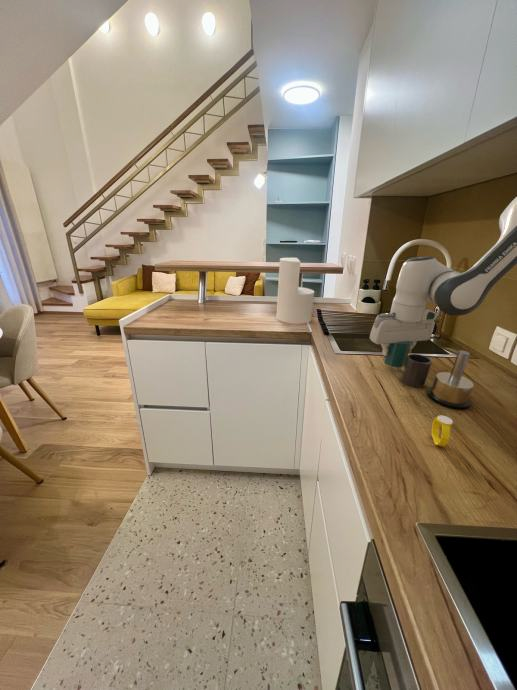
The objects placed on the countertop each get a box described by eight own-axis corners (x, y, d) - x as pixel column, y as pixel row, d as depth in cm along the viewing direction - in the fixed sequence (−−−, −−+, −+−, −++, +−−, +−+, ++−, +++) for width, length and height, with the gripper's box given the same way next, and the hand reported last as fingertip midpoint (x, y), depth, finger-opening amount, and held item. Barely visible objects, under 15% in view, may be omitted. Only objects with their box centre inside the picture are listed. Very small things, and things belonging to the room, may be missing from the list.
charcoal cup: (420, 378, 86) (427, 355, 82) (427, 389, 80) (435, 364, 77) (399, 376, 87) (405, 352, 84) (404, 386, 81) (410, 361, 78)
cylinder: (276, 322, 131) (280, 261, 120) (276, 312, 147) (279, 257, 136) (313, 324, 131) (320, 262, 120) (308, 313, 146) (314, 258, 135)
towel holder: (460, 391, 79) (476, 346, 74) (477, 412, 70) (497, 363, 65) (422, 386, 81) (435, 342, 76) (434, 406, 72) (450, 358, 67)
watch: (426, 430, 63) (433, 409, 61) (440, 433, 63) (447, 411, 60) (433, 449, 58) (441, 426, 56) (448, 452, 57) (457, 429, 55)
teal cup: (401, 359, 93) (407, 337, 90) (406, 368, 87) (413, 344, 84) (381, 357, 94) (387, 335, 91) (385, 365, 88) (391, 342, 85)
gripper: (383, 317, 78) (374, 361, 84) (442, 313, 83) (429, 355, 89) (370, 310, 84) (362, 352, 89) (425, 308, 89) (414, 347, 94)
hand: (396, 354), depth 89 cm, fingers closed on teal cup, 6 cm apart
